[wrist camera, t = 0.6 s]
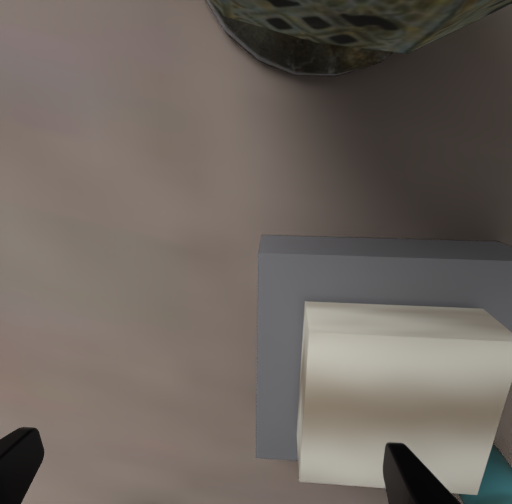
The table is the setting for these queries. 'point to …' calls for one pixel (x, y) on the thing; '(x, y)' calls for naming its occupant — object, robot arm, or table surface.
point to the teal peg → (493, 482)
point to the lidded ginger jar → (341, 29)
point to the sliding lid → (400, 391)
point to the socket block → (356, 291)
